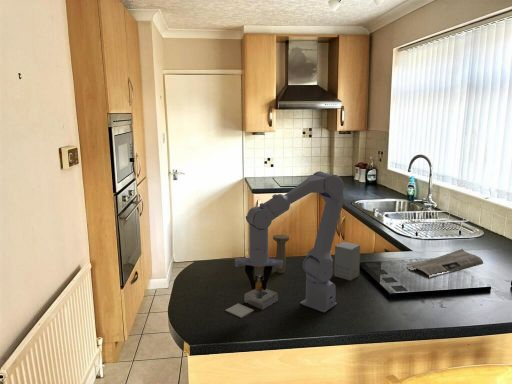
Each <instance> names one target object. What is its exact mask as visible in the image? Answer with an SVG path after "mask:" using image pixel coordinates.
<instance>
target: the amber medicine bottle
mask: <svg viewBox="0 0 512 384" xmlns="http://www.w3.org/2000/svg"><path fill="white" fill-rule="evenodd" d="M263 286H264V275H263V274H256V275H254V289H255V290H256V298H258V299H261V298H263Z"/></svg>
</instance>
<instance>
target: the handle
mask: <svg viewBox="0 0 512 384" xmlns="http://www.w3.org/2000/svg"><path fill="white" fill-rule="evenodd" d="M272 239H273V240H274V241H275V242H276V251H275V252H276V255H275V259H276V260H283V268H279V267H276V272H277V273H278V274H284V273H285V271H286V265H287V264H286V263H287V260H286V259H287V257H286V242H288V241H289V240H290V236H289V235H285V234H274V235H273V236H272Z"/></svg>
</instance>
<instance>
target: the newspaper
mask: <svg viewBox="0 0 512 384" xmlns="http://www.w3.org/2000/svg"><path fill="white" fill-rule="evenodd" d="M483 263H484V261H483V258H481V257H480V256H478V255H475V254H473V253H470V252H467V251H465V250H464V249H463V248H461V249H458V250H455V251H452V252H450V253H445V254H443V255H439V256H438V257H434V258H429V259H424V260H420V261H416V262H411V263H407V264H406V266H407V267H413V268H416V269H418V270H420V271H421V272H423V273H425V274H426V275H427V276H428V275H432V274H437V273H442V272H447V271H452V270H457V269H461V270H463V269H467V268H470V267H475V266H479V265H482V264H483ZM457 271H458V270H457Z"/></svg>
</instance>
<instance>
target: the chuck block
mask: <svg viewBox="0 0 512 384" xmlns="http://www.w3.org/2000/svg"><path fill="white" fill-rule="evenodd" d="M243 297H244V303H246V304H247V303H248V304H247V305H250V306H253V307H255V308H257V309H260V310H265V309H266V308H268V307H270V306H272V305H273V303H274V304H275V303H277V302H278V299H279V293H278V292H276V291H273V290H271V289H269V288H266V290H263V298H261V299H258V298H256V290H255V289H254V290H252V289H251V290H250V291H248V292H246V293H244V296H243Z"/></svg>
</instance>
